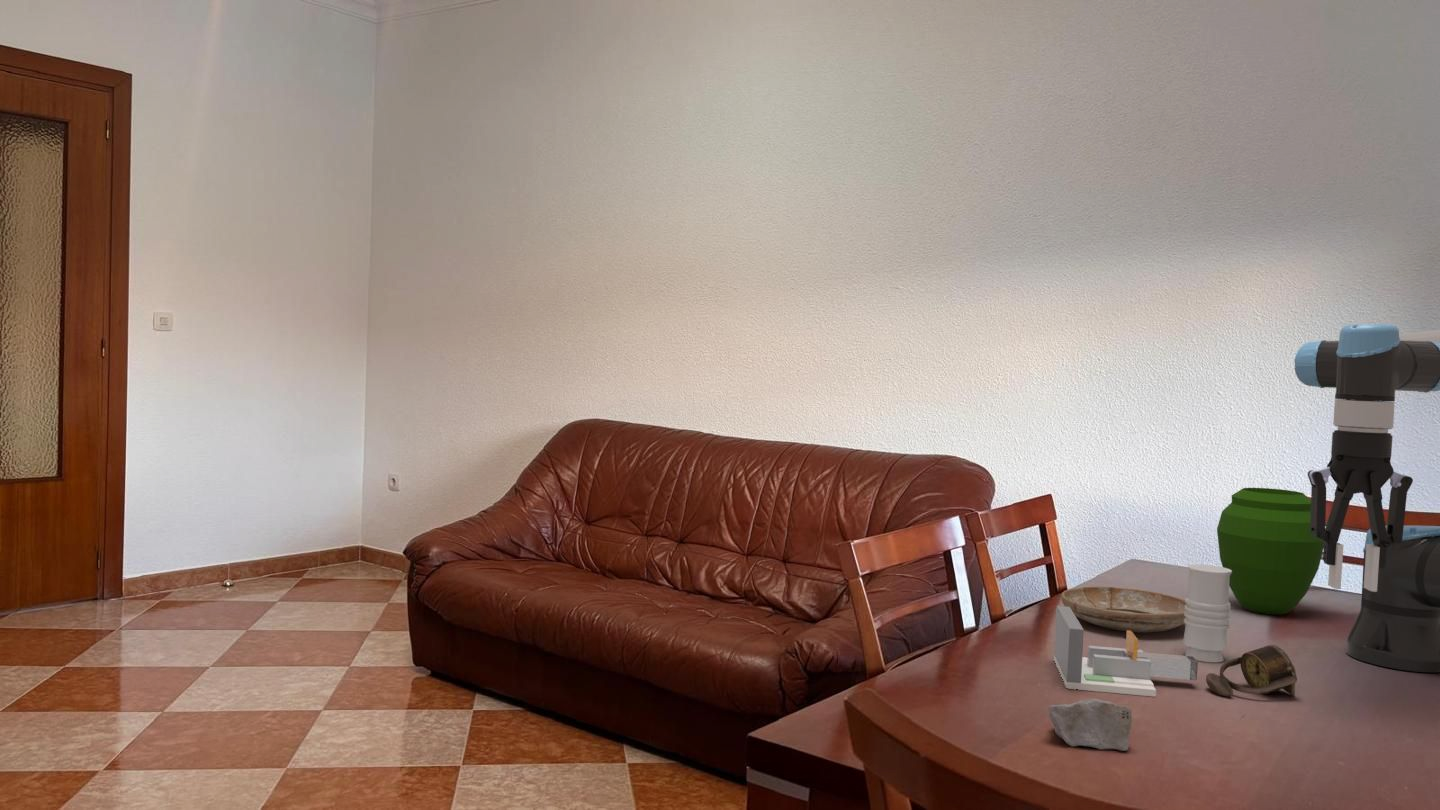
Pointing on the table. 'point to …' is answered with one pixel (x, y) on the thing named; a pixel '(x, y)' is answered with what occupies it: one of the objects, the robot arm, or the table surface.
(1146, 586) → the table surface
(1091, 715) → the stone
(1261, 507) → the vase
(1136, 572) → the table surface
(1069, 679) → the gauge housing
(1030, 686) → the table surface
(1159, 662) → the grey metal bar
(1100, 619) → the ceramic bowl
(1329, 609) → the table surface
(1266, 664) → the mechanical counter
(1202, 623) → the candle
